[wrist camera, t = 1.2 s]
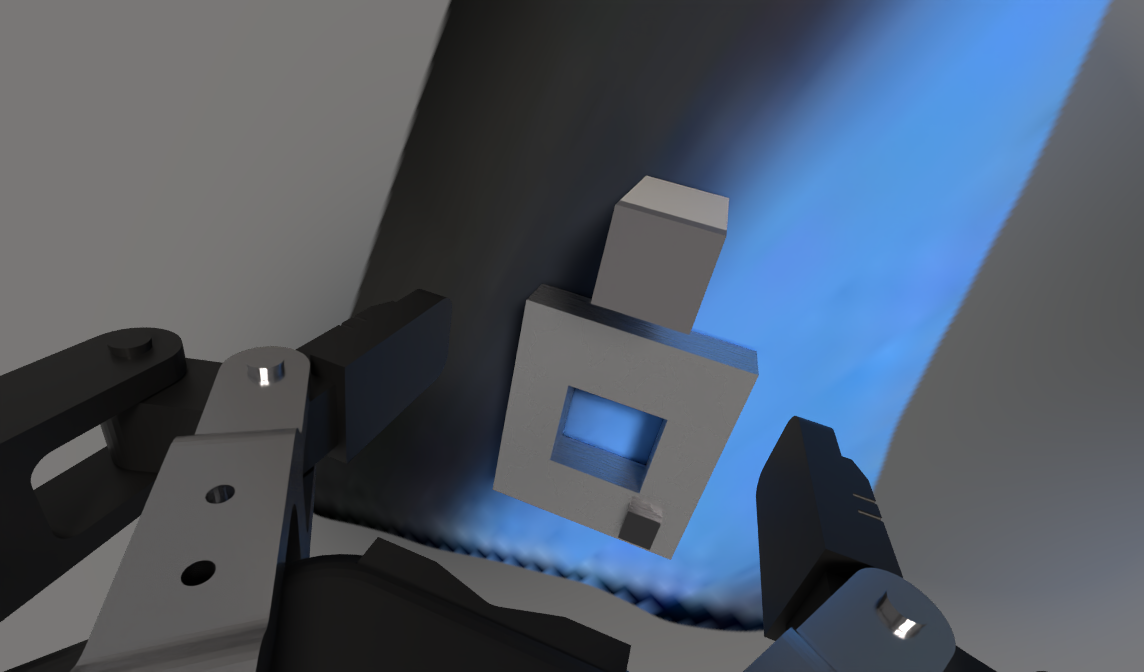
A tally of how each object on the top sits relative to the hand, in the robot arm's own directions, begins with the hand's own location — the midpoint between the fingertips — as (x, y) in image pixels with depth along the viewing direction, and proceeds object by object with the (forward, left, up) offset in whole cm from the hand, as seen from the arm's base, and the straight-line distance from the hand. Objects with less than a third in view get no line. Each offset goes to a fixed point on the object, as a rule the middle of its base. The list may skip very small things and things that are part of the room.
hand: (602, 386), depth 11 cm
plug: (0, 0, -15) cm, 15 cm away
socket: (+12, 0, -15) cm, 19 cm away
